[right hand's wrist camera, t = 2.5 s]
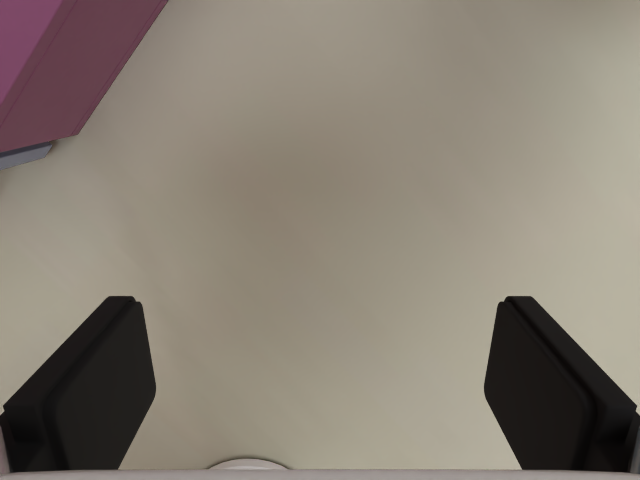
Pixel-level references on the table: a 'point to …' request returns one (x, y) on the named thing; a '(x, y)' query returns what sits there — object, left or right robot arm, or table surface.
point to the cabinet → (62, 62)
